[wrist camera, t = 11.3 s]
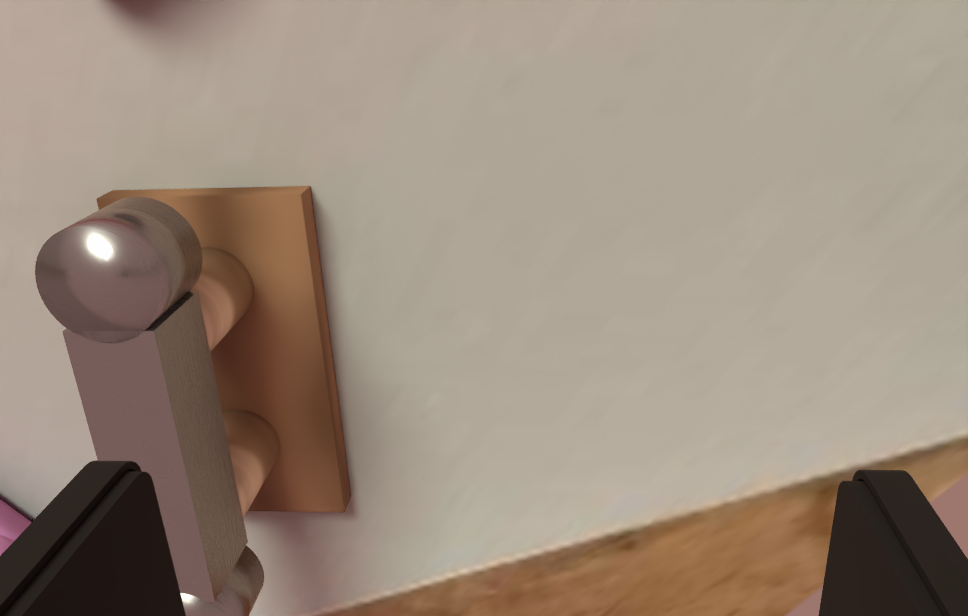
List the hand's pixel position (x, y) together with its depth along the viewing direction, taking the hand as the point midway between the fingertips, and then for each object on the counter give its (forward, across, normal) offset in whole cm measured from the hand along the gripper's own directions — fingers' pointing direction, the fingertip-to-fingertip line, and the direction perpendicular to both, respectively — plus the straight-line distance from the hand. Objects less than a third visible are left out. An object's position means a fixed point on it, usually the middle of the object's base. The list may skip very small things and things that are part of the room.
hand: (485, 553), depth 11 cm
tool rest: (+28, +16, +11) cm, 34 cm away
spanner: (+21, +16, +11) cm, 29 cm away
